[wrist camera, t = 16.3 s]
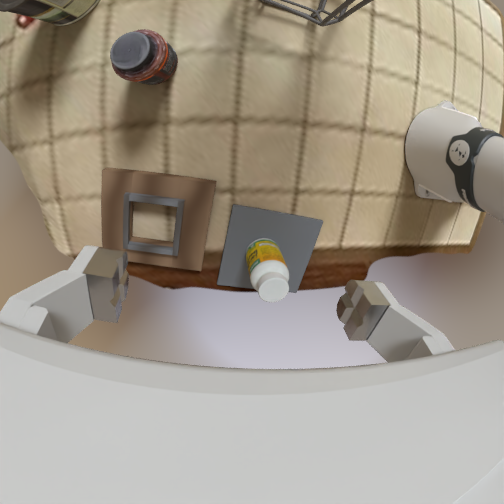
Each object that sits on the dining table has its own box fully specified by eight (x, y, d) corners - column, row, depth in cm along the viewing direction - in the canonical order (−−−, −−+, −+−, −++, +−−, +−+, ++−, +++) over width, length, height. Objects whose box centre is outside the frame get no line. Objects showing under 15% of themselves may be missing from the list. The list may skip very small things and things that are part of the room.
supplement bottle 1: (173, 38, 25) (155, 13, 16) (182, 76, 29) (167, 65, 19) (130, 53, 25) (96, 37, 16) (139, 91, 29) (107, 88, 19)
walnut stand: (216, 180, 37) (215, 186, 35) (201, 265, 43) (200, 274, 41) (106, 167, 33) (99, 172, 31) (106, 252, 40) (101, 260, 38)
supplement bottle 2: (273, 268, 45) (286, 308, 37) (241, 264, 44) (248, 304, 35) (283, 239, 42) (300, 276, 34) (249, 234, 41) (259, 271, 33)
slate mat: (322, 220, 42) (323, 221, 41) (295, 291, 48) (296, 292, 48) (233, 204, 39) (233, 205, 38) (217, 282, 45) (217, 284, 45)
